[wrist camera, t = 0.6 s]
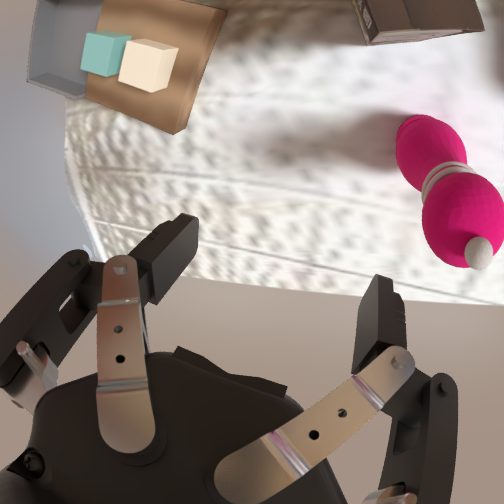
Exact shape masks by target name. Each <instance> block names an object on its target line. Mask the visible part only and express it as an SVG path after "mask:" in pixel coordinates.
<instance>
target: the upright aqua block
mask: <svg viewBox="0 0 504 504" xmlns="http://www.w3.org/2000/svg"><path fill="white" fill-rule="evenodd" d="M131 37H132V36H131V35H126V34H122V33H117V32H111V31H106V30H102V31H95V32H88V33H87V35H86V39H85V44H84V50H83V56H82V62H81V68H80V69H82V70H85V71H89V72H92V73H95V74H99V75H102V76H105V77H108V76H111V75H115V74H118V73H120V69H121V64H122V60H123V55H124V51H125V47H126V43H127V41H129V40H131Z"/></svg>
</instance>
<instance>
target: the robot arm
mask: <svg viewBox="0 0 504 504" xmlns="http://www.w3.org/2000/svg"><path fill="white" fill-rule="evenodd" d="M198 229H199V219H198V218H197V217H195V216H191V215H188V214H184V213H181V214H180V215H179V216H178V217H177V218H175V219H174V220H173V221H170V220H168V221H166V222H164V223H162V224H160V225H158V226H157V227H156V228H155V229H154V230H153V231H152V233H150V234H149V235H148V236H147V237H146V238H144V239H143V240H142V241H141V242H140V243H139V244H138V245H137V246H136V247H135V248H134V249H133V250H132V251H131V252H130V253H129V254H128V255H117V256H114V257H112V258H110V259H109V260H107V262H106V263H103V262H95V261H90V259H89V255H88V253H87V252H86V251H84V250H79V249H78V250H72V251H69V252H67V253H66V254H64V255H63V256H62V257H61V258H60V259H59V260H58V261H57V262H56V263H55V264H54V265H53V266H52V267H51V268H50V269H49V270H48V271H47V272H46V273H45V274H44V275H43V276H42V277H41V278H40V279H39V280H38V281H37V282H36V283H35V284H34V285H33V286H32V288H31V289H30V290H29V291H28V292H27V293H26V294H25V295H24V296H23V297H22V298H21V300H20V301H19V302H18V303H17V304H16V305H15V306H14V308H13V309H12V310H11V311H10V312H9V314H8V315H7V316H6V317H5V318H4V319H3V321H2V322H1V323H0V392H1V393H2V394H3V395H4V396H5V397H6V398H8V399H10V400H11V401H12V402H13V403H14V404H16V405H17V406H18V407H20V408H25V409H26V410H27V411H28V412H29V413H31V414H32V415H33V426H32V432H31V436H30V440H29V443H28V446H27V448H26V449H25V451H24V452H23V453H22V454H21V455H20V456H19V457H18V458H17V459H16V460H15V461H13V462H12V463H11V464H10V465H8V466H7V467H5V468H4V469H3V470H1V472H0V504H348V503H347V501H346V499H345V497H344V495H343V492H342V490H341V488H340V486H339V484H338V482H337V480H336V477H335V475H334V473H333V471H332V468H331V466H330V464H329V462H328V460H327V456H328V455H330V454H331V453H332V452H334V451H335V450H336V449H337V448H338V447H339V446H341V445H342V444H343V443H344V442H345V441H347V440H348V439H349V438H350V437H351V436H352V435H353V434H355V433H356V432H357V431H358V430H359V429H360V428H361V427H363V426H364V425H365V424H366V423H367V422H368V421H369V420H370V419H371V418H372V417H373V416H374V415H375V414H376V413H377V412H378V411H379V410H381V411H382V412H384V413H386V414H388V415H389V416H391V417H392V424H391V430H390V436H389V442H388V447H387V452H386V458H385V462H384V466H383V471H382V475H381V479H380V483H379V488H378V490H377V491H374V492H372V493H370V494H369V495H368V496H367V497H366V498H365V499H364V501H363V502H362V504H449V503H450V497H451V492H452V486H453V479H454V470H455V461H456V449H457V432H458V390H457V385H456V383H455V381H454V380H453V379H452V378H451V377H450V376H449V375H447V374H445V373H437V374H436V375H434V376H433V377H432V378H431V377H429V376H428V375H426V374H425V373H423V372H421V371H419V370H418V369H417V368H416V367H415V361H414V359H413V356H412V355H411V354H410V352H409V351H407V340H406V323H405V315H404V314H405V307H404V302H403V300H402V298H401V296H400V294H398V293H395V292H394V291H393V280H392V279H390V278H387V277H384V276H381V275H378V274H376V275H375V276H374V277H373V279H372V281H371V283H370V285H369V287H368V289H367V291H366V293H365V294H364V296H363V298H362V300H361V303H360V306H359V309H358V318H357V328H356V338H355V347H354V355H353V364H352V371H351V374H354V375H356V376H354V375H353V376H351V377H350V378H349V379H347V380H346V381H345V382H344V383H342V384H341V385H340V386H338V387H337V388H336V389H335V390H333V391H332V392H331V393H329V394H328V395H326V396H325V397H324V398H322V399H321V400H320V401H319V402H317V403H315V404H314V405H313V406H311V407H310V408H308V409H307V410H305V411H304V410H303V408H302V407H301V406H300V405H299V404H298V403H297V402H296V401H295V400H294V399H292V398H291V397H290V396H287V395H286V394H285V393H286V390H287V386H285V385H282V384H278V383H275V382H272V381H269V380H266V379H263V378H260V377H252V376H243V375H235V374H229V373H227V372H225V371H224V370H222V369H221V368H219V367H218V366H216V365H215V364H213V363H212V362H210V361H209V360H208V359H206V358H205V357H203V356H201V355H199V354H196V353H194V352H191V351H189V350H186V349H184V348H182V347H180V346H178V347H177V348H176V350H175V352H174V353H172V352H154V353H151V351H150V346H149V340H148V332H147V324H146V316H145V308H144V307H145V305H146V304H147V303H148V302H150V303H152V304H155V305H157V304H158V303H159V302H160V301H161V299H162V298H163V297H164V295H165V294H166V293H167V291H168V290H169V289H170V287H171V286H172V285H173V284H174V282H175V281H176V280H177V278H178V277H179V276H180V275H181V273H182V272H183V271H184V269H185V268H186V267H187V266H188V264H189V263H190V262H191V260H192V259H193V258H194V256H195V254H196V252H197V248H198ZM70 294H71V298H70V300H69V301H68V302H67V303H66V304H65V306H64V307H63V308H62V309H61V310H60V311H59V308H60V306H61V305H62V304H63V302H64V301H65V300H66V299H67V298H68V297H69V295H70ZM96 314H97V369H98V372H97V373H94V374H91V375H89V376H86V377H83V378H80V379H77V380H74V381H71V382H68V383H65V384H62V385H59V386H57V379H58V369H57V368H58V366H59V365H60V363H61V362H62V360H63V359H64V358H65V356H66V355H67V353H68V352H69V351H70V349H71V348H72V346H73V345H74V344H75V342H76V341H77V339H78V338H79V337H80V335H81V333H83V331H84V330H85V328H86V327H87V326H88V324H89V323H90V322H91V321H92V319H93V318H94V316H95V315H96Z"/></svg>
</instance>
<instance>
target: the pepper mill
mask: <svg viewBox="0 0 504 504" xmlns="http://www.w3.org/2000/svg"><path fill="white" fill-rule="evenodd" d="M396 143H397V146H396V159H397V163H398V166H399V168H400V170H401V172H402V174H403V176H404V177H405V179H406V180H407V181H408V182H409V183H410V184H411V185H412V186H413V187H414V188H415V189H417V190H418V191H420V192H422V203H423V209H422V227H423V231H424V235H425V238H426V240H427V243H428V244H429V246H430V248H431V249H432V251H433V252H434V253H435V255H436V256H437V257H439V258H440V259H441V260H442V261H443V262H445V263H447V264H449V265H452V266H455V267H461V268H469V267H471V268H473V269H475V270H482V269H485V268H486V267H487V266H488V265H489V264H490V263H491V261H492V259H493V256H494V255H495V254H496V253H497V251H498V250H499V248H500V247H501V245H502V242H503V240H504V202H503V200H502V197H501V196H500V194H499V192H498V191H497V190H496V188H495V187H494V186H493V185H492V184H491V183H490V182H489V181H488V180H487V179H485V178H484V177H482V176H480V175H478V174H476V172H475V171H474V170H473V169H472V168H471V167H469V166H468V165H467V157H466V151H465V147H464V144H463V142H462V140H461V139H460V137H459V136H458V134H457V133H456V132H455V130H454V129H453V128H452V127H450V126H449V125H448V124H446V123H444V122H442V121H440V120H436V119H435V118H433V117H431V116H427V115H416V116H413V117H410V118H408V119H407V120H406V121H405V122H404V123H403V124H402V125H401V126H400V128H399V130H398V133H397V138H396Z"/></svg>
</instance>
